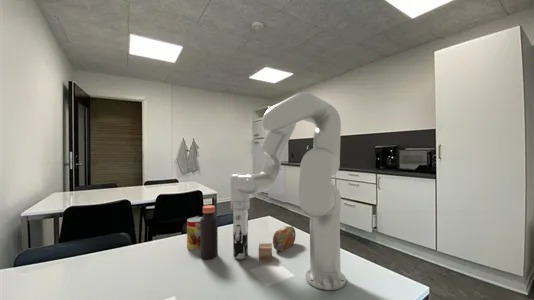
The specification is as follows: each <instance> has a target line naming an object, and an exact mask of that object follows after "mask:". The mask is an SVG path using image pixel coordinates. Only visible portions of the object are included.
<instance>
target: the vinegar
mask: <svg viewBox="0 0 534 300" xmlns="http://www.w3.org/2000/svg"><path fill="white" fill-rule="evenodd" d="M202 214H203V215H202V216H201V217H202V218H201V220H200V248H199V249H200V258H201V259H203V260H212V259H215V258H216V257H218V254H219V251H218V250H219V245H218V239H219V238H218V237H219V236H218V231H219V230H218V217H217V216H216V215H215V214H216V206H215V205H210V204H209V205H204V206H202Z"/></svg>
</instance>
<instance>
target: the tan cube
mask: <svg viewBox="0 0 534 300" xmlns="http://www.w3.org/2000/svg"><path fill="white" fill-rule="evenodd" d="M272 258H273V242H272V243H270V242H269V243H268V242H267V243H266V242H265V243H264V242H262V243H260V242H259V245H258V262H272V261H273V259H272Z"/></svg>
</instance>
